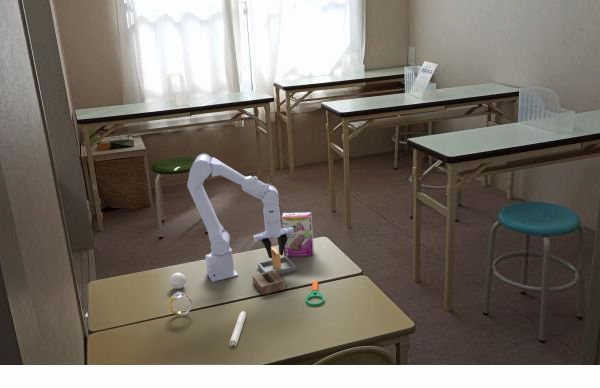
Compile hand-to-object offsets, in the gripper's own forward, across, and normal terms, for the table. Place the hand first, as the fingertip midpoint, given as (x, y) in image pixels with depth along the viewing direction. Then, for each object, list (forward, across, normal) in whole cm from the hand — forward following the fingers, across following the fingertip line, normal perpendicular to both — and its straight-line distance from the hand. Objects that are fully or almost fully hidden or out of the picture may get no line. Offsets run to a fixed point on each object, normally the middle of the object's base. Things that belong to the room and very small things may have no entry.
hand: (275, 255), depth 212 cm
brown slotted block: (+5, -7, -11) cm, 14 cm away
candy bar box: (+6, +12, +8) cm, 16 cm away
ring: (+6, -38, -16) cm, 42 cm away
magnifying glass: (+6, +4, -25) cm, 26 cm away
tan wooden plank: (+5, 0, 0) cm, 5 cm away
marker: (+6, -24, -33) cm, 41 cm away
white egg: (+6, -36, +4) cm, 37 cm away
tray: (+5, 0, 0) cm, 5 cm away
